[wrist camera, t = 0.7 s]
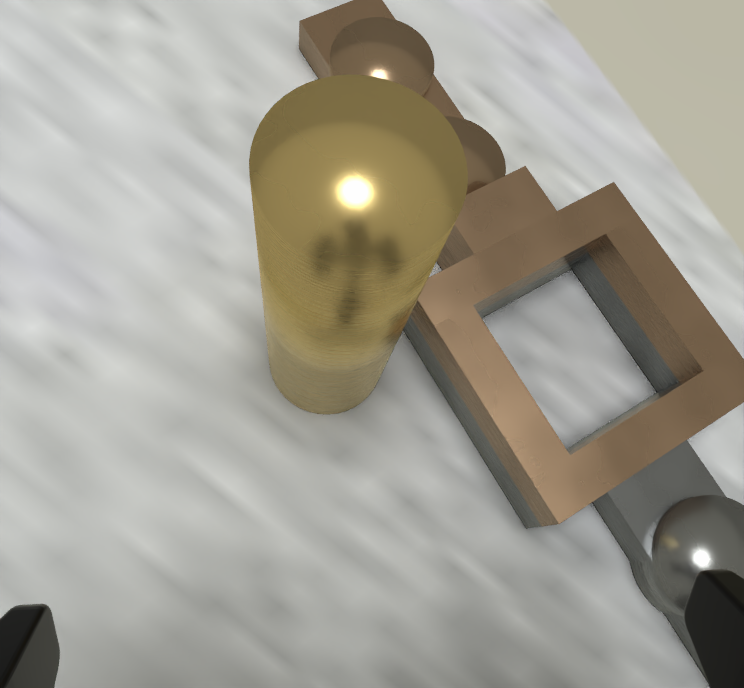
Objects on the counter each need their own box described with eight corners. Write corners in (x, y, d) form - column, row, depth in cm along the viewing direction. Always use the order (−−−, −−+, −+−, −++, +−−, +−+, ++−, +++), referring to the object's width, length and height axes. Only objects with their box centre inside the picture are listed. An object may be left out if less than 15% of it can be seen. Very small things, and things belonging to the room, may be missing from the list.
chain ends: (929, 714, 23) (1019, 736, 20) (744, 881, 21) (816, 931, 18) (422, -1, 30) (436, -61, 27) (242, 70, 28) (237, 13, 25)
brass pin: (402, 380, 24) (508, 208, 13) (304, 435, 23) (318, 305, 12) (346, 287, 25) (397, 46, 13) (248, 337, 24) (209, 122, 12)
